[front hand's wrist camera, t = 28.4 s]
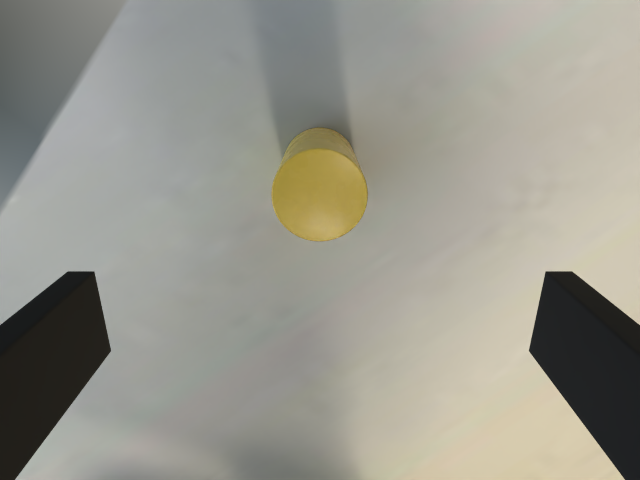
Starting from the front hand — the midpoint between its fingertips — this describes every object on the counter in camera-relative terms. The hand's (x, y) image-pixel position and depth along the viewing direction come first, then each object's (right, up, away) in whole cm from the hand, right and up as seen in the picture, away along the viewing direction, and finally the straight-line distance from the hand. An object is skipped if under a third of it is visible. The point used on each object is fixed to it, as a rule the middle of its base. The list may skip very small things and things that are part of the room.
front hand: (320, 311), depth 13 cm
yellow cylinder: (0, +8, +20) cm, 22 cm away
